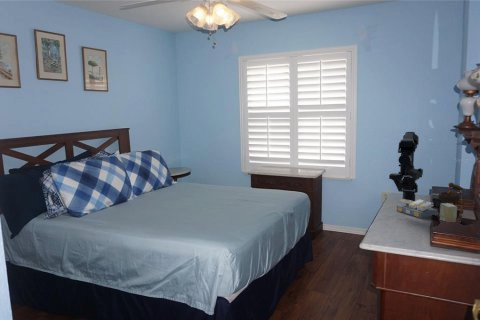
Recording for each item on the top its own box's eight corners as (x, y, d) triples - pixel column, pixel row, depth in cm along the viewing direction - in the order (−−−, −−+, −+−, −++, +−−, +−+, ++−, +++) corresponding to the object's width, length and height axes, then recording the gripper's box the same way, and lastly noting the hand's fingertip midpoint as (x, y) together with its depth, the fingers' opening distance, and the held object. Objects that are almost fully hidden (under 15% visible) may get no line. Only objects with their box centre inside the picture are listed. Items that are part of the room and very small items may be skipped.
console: (396, 210, 201) (396, 203, 201) (412, 208, 206) (412, 201, 205) (420, 218, 187) (420, 210, 186) (437, 215, 191) (437, 207, 191)
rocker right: (417, 209, 191) (416, 206, 191) (428, 204, 194) (427, 201, 193) (422, 211, 188) (422, 208, 187) (433, 205, 191) (433, 202, 190)
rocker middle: (408, 207, 196) (408, 204, 196) (419, 202, 199) (419, 199, 198) (414, 208, 193) (413, 205, 193) (424, 203, 196) (424, 200, 195)
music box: (464, 219, 182) (467, 181, 178) (465, 227, 173) (468, 187, 169) (430, 216, 190) (432, 179, 186) (429, 223, 180) (431, 185, 176)
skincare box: (438, 228, 170) (439, 203, 169) (447, 227, 171) (448, 202, 169) (447, 232, 164) (448, 206, 162) (456, 232, 164) (457, 206, 163)
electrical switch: (450, 210, 200) (450, 194, 198) (449, 213, 196) (450, 197, 194) (431, 208, 205) (431, 192, 204) (430, 211, 201) (430, 195, 199)
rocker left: (400, 201, 201) (401, 198, 201) (410, 203, 204) (411, 200, 204) (405, 203, 198) (406, 199, 198) (415, 204, 201) (416, 201, 201)
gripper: (405, 166, 186) (404, 195, 188) (431, 163, 193) (429, 191, 195) (388, 163, 196) (387, 191, 198) (413, 161, 203) (412, 188, 205)
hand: (405, 190), depth 199 cm, fingers open, 8 cm apart
